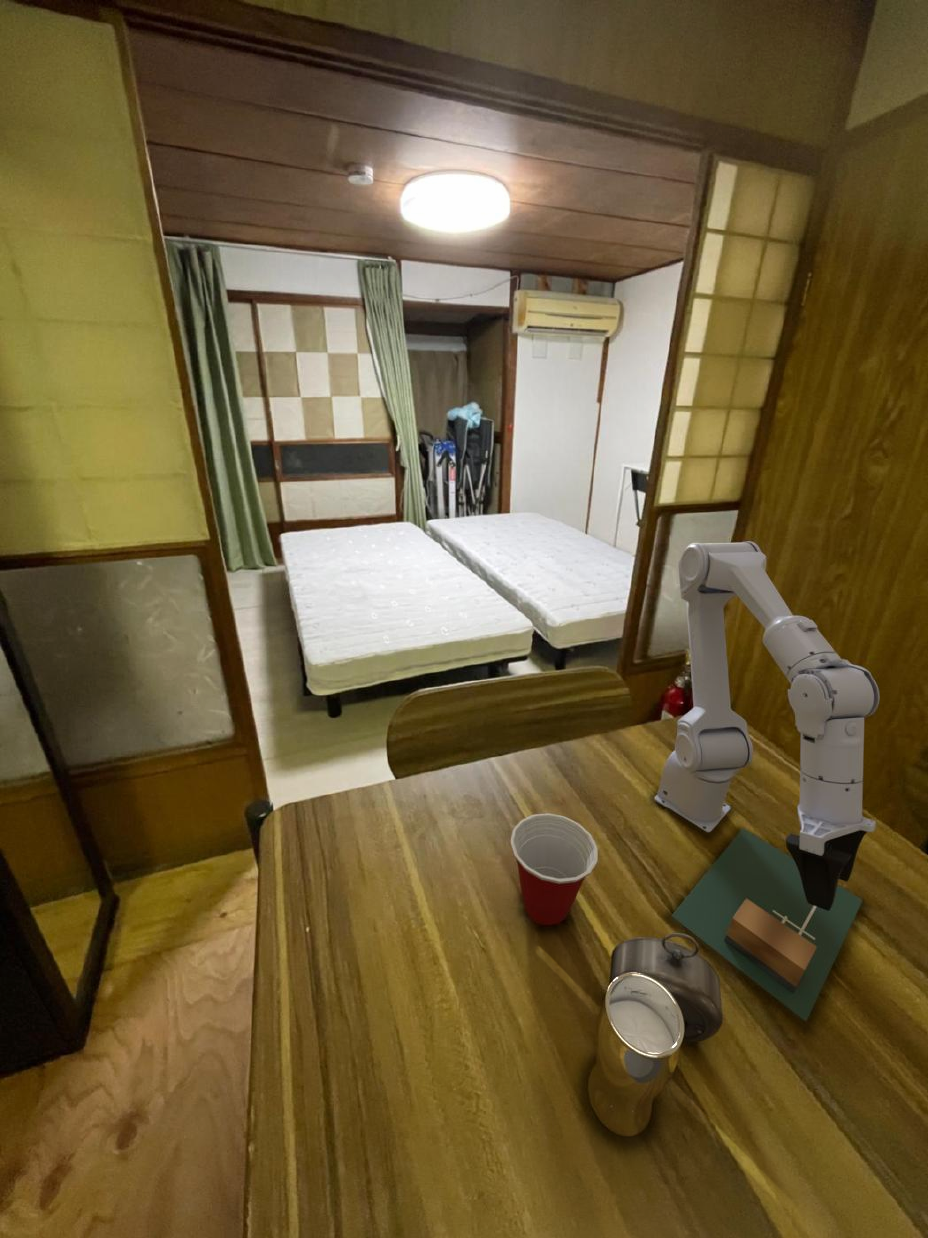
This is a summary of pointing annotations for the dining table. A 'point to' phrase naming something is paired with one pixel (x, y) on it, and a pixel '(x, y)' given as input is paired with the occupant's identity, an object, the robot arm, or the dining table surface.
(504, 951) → the dining table surface
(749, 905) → the eraser
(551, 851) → the plastic cup
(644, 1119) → the beer glass
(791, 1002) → the chalkboard
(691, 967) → the alarm clock
